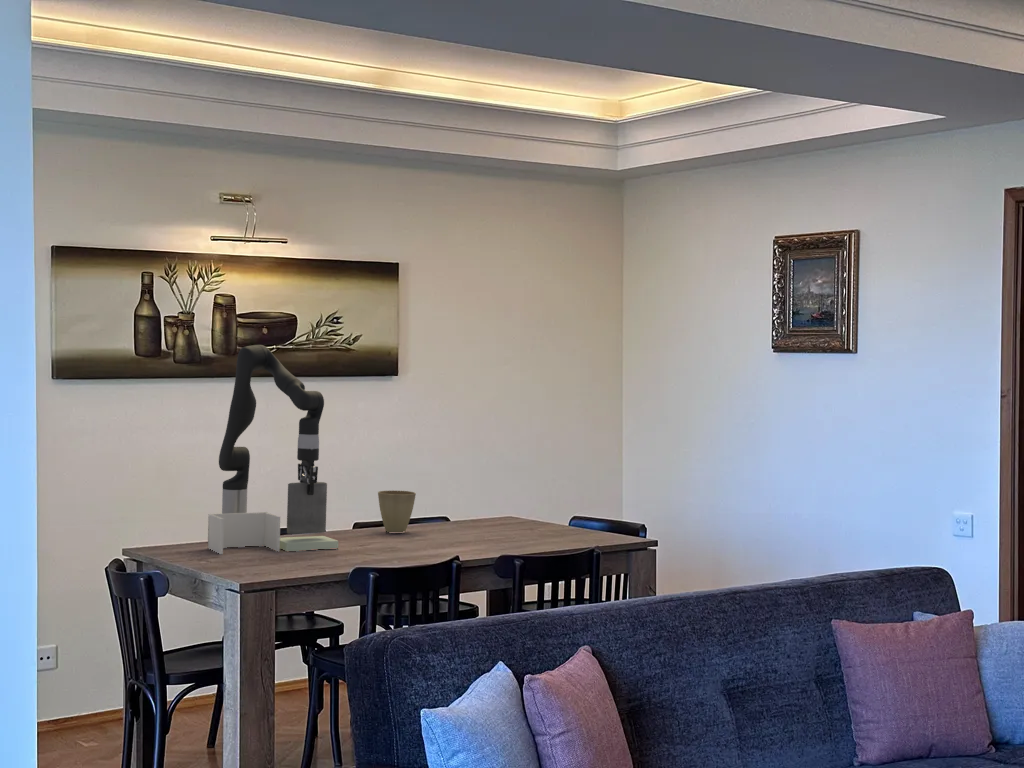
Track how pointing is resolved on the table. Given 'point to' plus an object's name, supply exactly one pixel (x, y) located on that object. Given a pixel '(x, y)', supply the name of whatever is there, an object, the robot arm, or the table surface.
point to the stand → (307, 543)
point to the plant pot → (396, 509)
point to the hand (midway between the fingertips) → (306, 493)
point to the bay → (243, 530)
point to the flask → (306, 508)
